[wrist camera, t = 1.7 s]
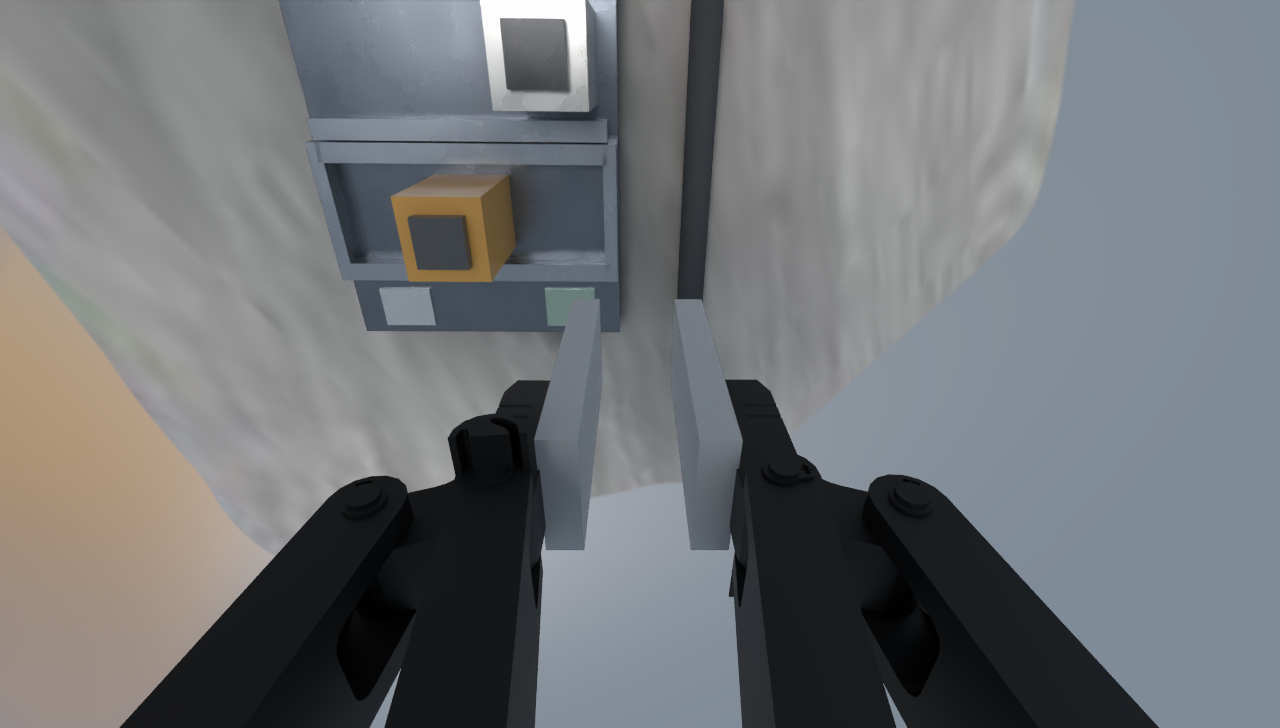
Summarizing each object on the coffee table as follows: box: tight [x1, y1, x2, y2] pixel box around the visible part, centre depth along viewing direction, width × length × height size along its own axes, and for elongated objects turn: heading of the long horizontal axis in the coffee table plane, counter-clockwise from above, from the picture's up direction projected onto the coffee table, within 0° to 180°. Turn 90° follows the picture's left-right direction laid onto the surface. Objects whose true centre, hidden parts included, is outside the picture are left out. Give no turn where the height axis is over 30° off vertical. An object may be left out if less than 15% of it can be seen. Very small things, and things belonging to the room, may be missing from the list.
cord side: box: [677, 0, 724, 300], centre depth 30 cm, size 18×2×2 cm, turn 179°
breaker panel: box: [279, 0, 620, 332], centre depth 27 cm, size 19×16×9 cm
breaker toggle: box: [391, 174, 516, 282], centre depth 27 cm, size 4×4×7 cm
